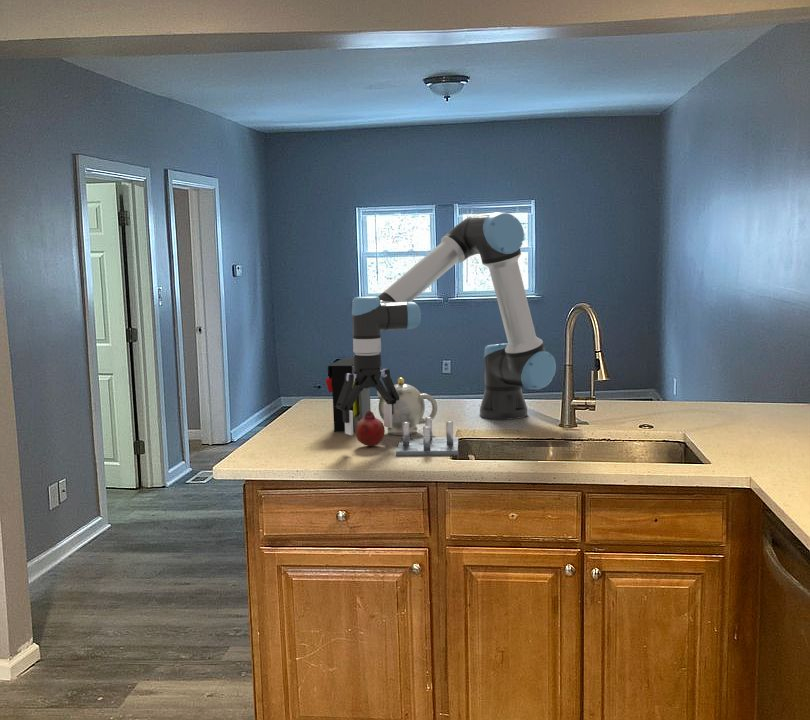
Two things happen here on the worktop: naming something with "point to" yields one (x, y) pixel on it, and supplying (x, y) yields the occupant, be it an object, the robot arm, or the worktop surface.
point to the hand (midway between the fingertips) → (369, 430)
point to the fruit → (370, 430)
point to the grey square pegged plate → (428, 442)
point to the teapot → (407, 408)
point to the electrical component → (335, 386)
